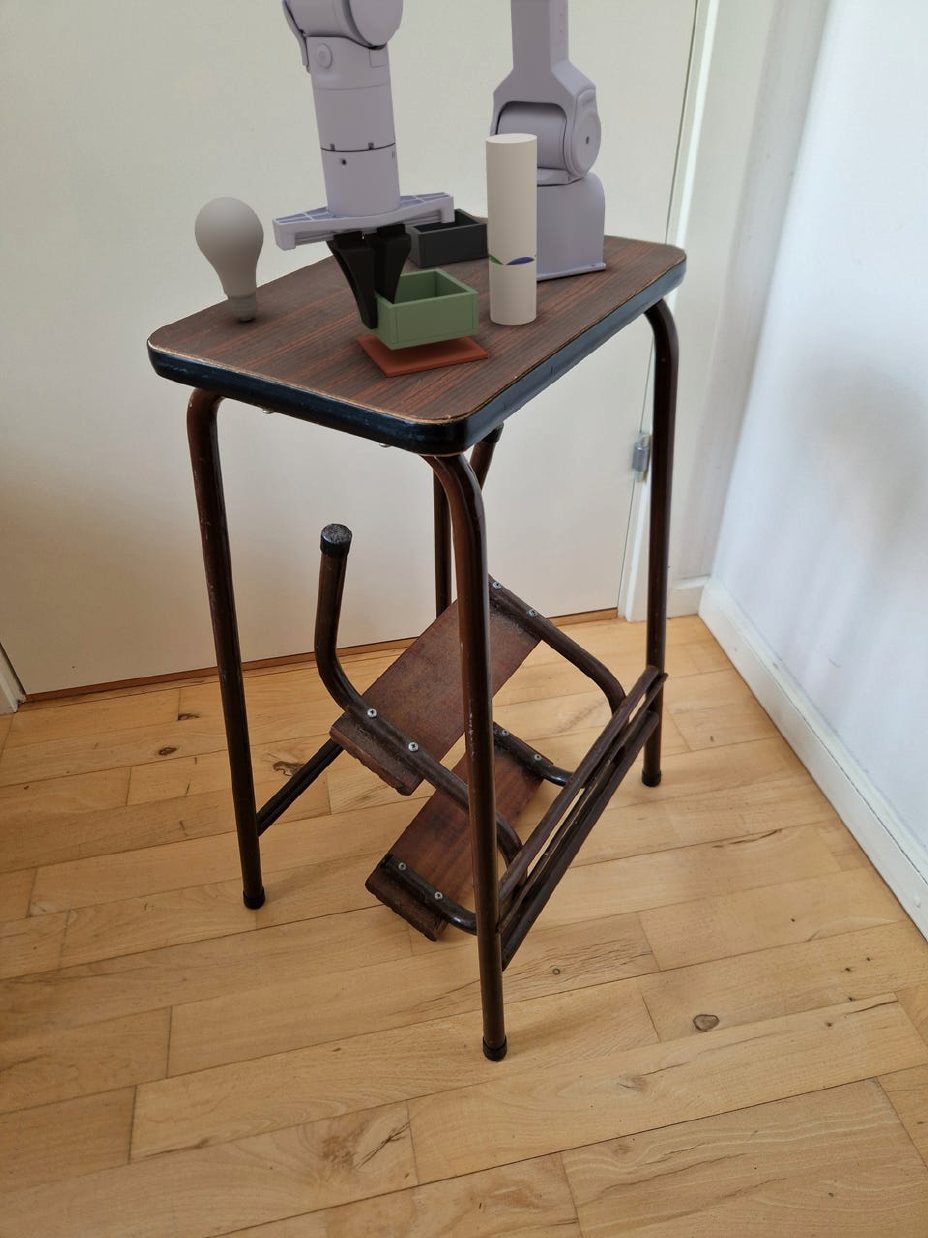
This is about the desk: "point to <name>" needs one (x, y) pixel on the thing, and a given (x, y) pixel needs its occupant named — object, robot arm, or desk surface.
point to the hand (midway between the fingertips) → (377, 323)
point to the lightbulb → (232, 250)
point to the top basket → (426, 310)
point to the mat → (421, 354)
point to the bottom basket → (448, 241)
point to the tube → (512, 226)
